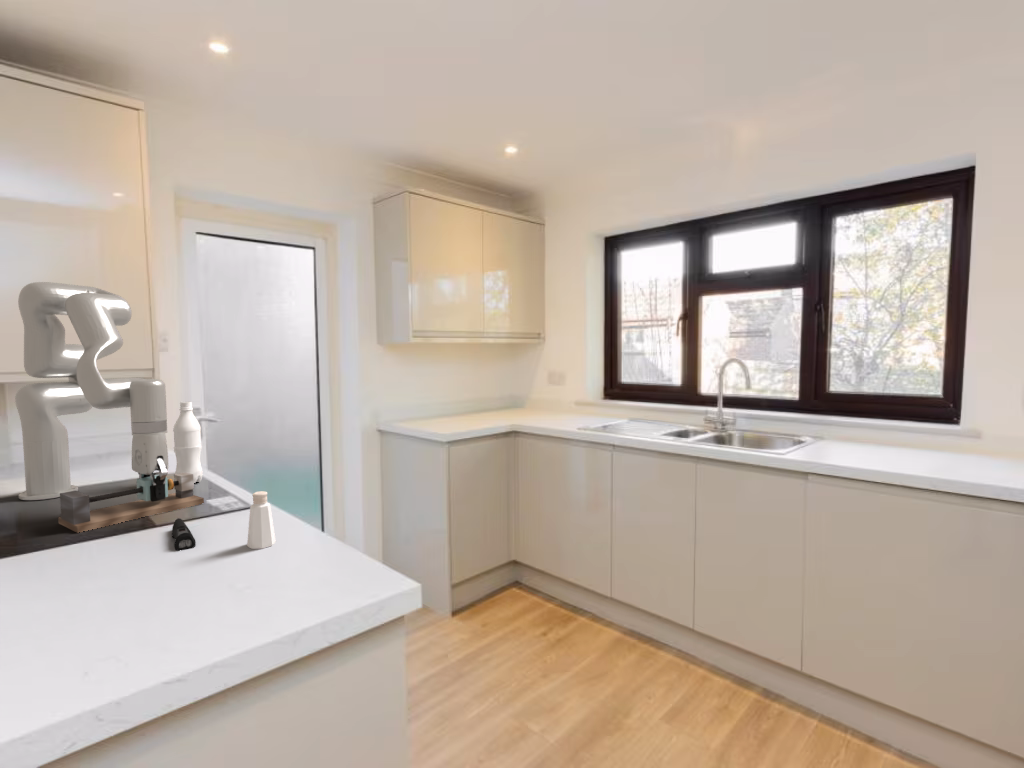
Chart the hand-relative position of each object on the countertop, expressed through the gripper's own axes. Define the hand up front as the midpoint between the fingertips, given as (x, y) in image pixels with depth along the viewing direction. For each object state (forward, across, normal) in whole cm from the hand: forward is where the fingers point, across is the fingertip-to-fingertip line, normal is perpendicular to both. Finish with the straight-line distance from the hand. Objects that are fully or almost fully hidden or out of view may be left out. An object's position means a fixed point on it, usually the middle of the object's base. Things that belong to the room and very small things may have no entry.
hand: (152, 497), depth 135 cm
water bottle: (+3, -20, +18) cm, 27 cm away
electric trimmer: (+4, +30, -7) cm, 31 cm away
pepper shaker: (+3, +47, +1) cm, 47 cm away
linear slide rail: (+3, 0, -4) cm, 5 cm away
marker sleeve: (0, 0, 0) cm, 0 cm away
